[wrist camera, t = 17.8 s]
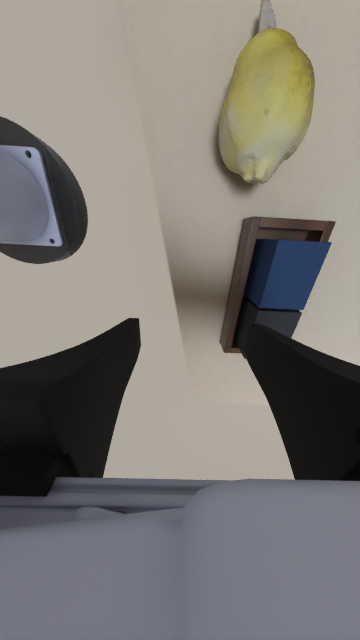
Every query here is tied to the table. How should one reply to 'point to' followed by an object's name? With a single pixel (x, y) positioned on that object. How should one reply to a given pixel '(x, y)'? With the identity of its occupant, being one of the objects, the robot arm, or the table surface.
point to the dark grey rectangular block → (263, 321)
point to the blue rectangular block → (284, 272)
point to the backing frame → (249, 234)
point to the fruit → (266, 102)
